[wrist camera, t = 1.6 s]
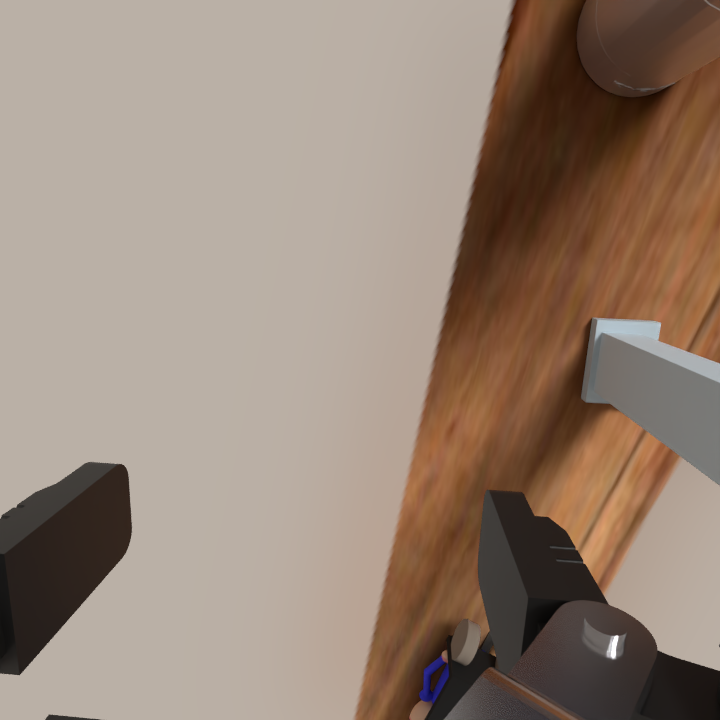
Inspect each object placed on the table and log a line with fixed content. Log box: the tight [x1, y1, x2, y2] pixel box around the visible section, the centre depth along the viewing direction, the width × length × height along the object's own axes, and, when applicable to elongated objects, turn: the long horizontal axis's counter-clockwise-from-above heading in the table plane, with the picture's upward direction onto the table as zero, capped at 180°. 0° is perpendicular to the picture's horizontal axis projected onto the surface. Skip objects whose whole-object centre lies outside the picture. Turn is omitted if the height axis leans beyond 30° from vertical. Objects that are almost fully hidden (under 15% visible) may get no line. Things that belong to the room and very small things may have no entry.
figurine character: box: [409, 619, 499, 720], centre depth 49 cm, size 7×8×15 cm
